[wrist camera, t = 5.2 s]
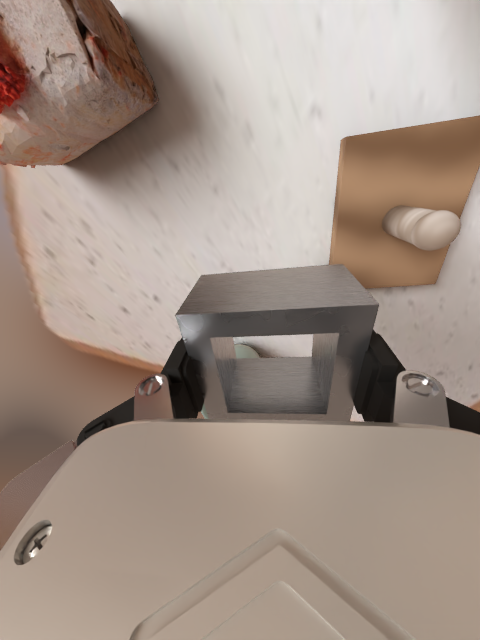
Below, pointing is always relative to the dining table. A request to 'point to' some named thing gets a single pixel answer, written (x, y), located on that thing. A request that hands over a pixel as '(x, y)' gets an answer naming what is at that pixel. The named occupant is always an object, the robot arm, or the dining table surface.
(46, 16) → the food item
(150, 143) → the dining table surface
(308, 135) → the dining table surface
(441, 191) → the brown flat pegged piece
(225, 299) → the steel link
